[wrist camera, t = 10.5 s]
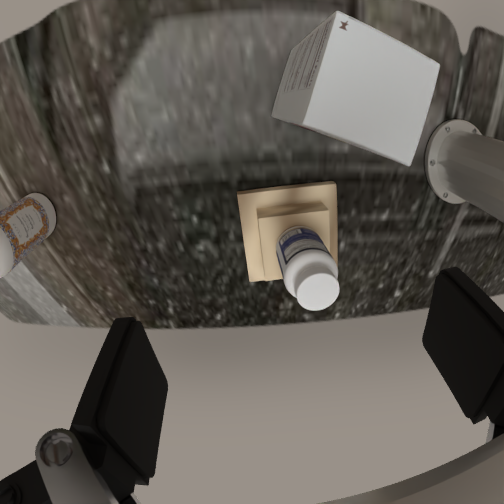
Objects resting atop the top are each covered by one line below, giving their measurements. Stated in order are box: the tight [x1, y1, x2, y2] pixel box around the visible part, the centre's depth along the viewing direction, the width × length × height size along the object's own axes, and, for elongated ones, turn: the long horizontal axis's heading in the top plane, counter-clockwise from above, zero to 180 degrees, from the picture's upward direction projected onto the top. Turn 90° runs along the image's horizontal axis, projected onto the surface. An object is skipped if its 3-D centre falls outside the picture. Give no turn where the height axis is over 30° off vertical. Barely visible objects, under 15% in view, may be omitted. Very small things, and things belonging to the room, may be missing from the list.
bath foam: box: [0, 193, 56, 278], centre depth 28 cm, size 7×7×20 cm
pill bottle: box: [276, 226, 339, 311], centre depth 32 cm, size 5×5×10 cm
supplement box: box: [271, 11, 440, 166], centre depth 25 cm, size 10×9×17 cm
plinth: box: [237, 181, 337, 282], centre depth 38 cm, size 12×12×5 cm
